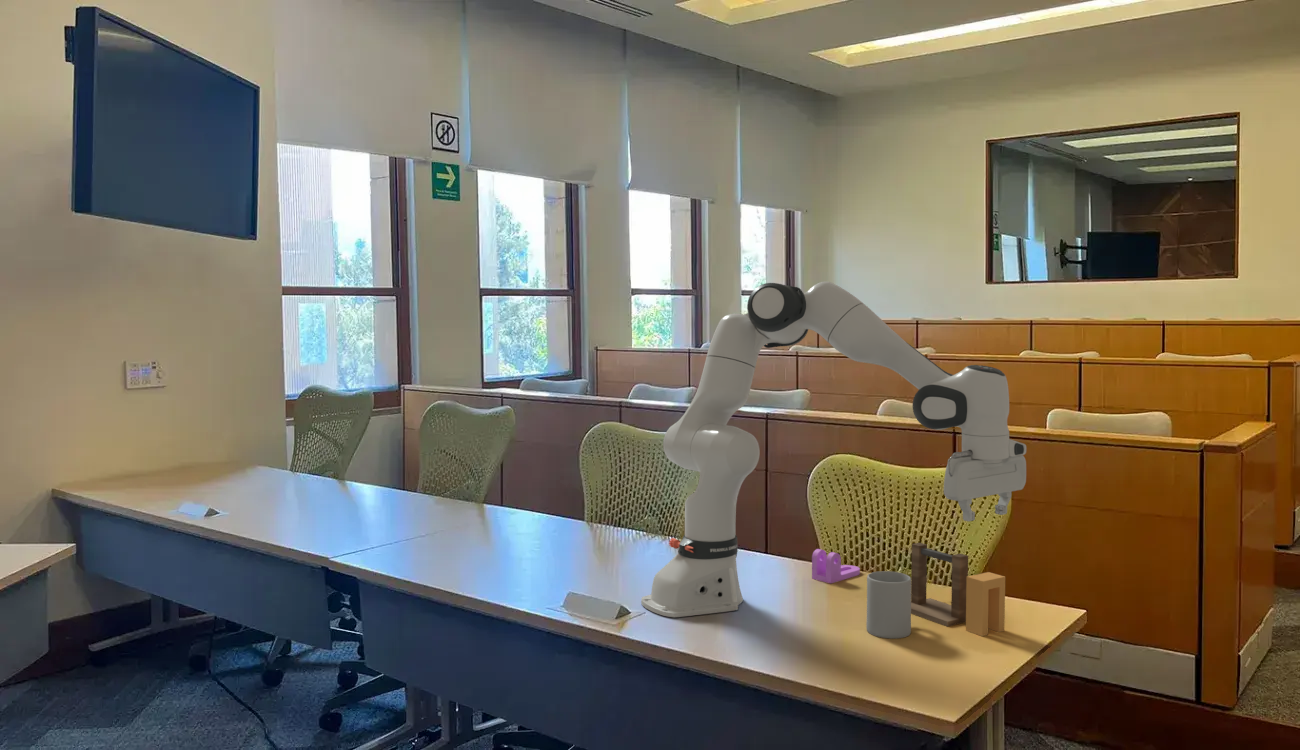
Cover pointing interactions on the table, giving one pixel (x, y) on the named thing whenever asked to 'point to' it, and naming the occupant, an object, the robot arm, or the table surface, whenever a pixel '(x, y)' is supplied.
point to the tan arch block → (985, 603)
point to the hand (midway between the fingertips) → (985, 517)
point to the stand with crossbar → (919, 603)
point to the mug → (888, 604)
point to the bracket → (831, 567)
